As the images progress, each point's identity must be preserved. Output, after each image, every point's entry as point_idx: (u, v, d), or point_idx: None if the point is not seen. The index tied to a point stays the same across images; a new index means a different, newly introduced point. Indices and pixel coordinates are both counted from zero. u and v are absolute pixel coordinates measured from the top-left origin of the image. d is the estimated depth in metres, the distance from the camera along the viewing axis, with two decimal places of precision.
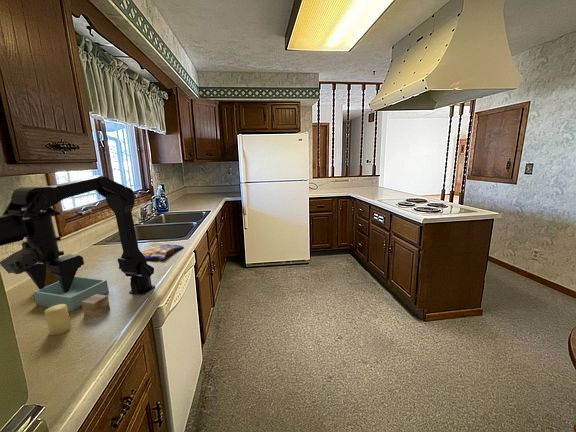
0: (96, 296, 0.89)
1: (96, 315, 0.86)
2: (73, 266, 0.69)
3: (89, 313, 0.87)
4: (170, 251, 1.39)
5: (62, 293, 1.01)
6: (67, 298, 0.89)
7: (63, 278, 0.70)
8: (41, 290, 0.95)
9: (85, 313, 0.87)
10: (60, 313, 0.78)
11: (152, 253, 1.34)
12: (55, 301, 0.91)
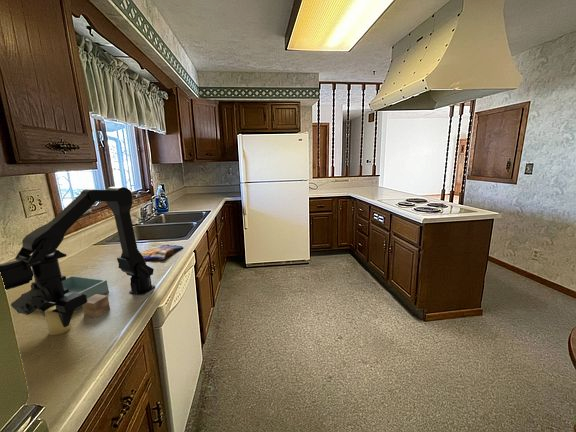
0: (96, 296, 0.89)
1: (96, 315, 0.86)
2: (77, 305, 0.76)
3: (89, 313, 0.87)
4: (170, 251, 1.39)
5: None
6: None
7: (63, 314, 0.77)
8: None
9: (85, 313, 0.87)
10: None
11: (152, 253, 1.34)
12: None
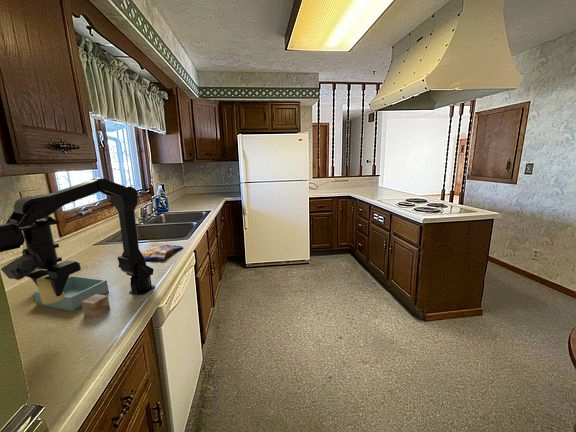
0: (96, 296, 0.89)
1: (96, 315, 0.86)
2: (70, 272, 0.73)
3: (89, 313, 0.87)
4: (170, 251, 1.38)
5: None
6: (67, 298, 0.89)
7: (56, 282, 0.75)
8: None
9: (85, 313, 0.87)
10: None
11: (152, 253, 1.34)
12: None
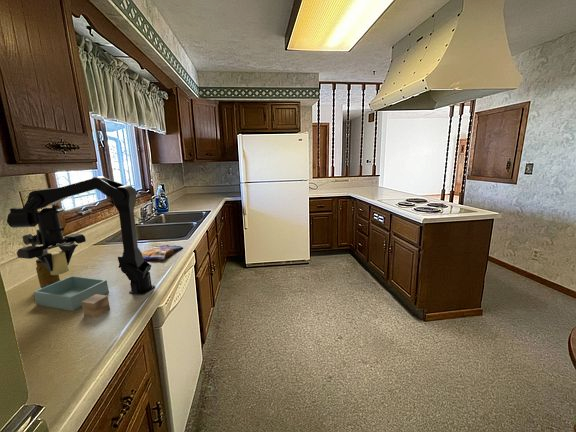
0: (96, 296, 0.89)
1: (96, 315, 0.86)
2: (23, 256, 0.86)
3: (89, 313, 0.87)
4: (170, 252, 1.38)
5: (62, 293, 1.01)
6: (67, 298, 0.89)
7: (41, 260, 0.92)
8: (41, 290, 0.95)
9: (85, 313, 0.87)
10: None
11: (151, 254, 1.33)
12: (55, 301, 0.91)
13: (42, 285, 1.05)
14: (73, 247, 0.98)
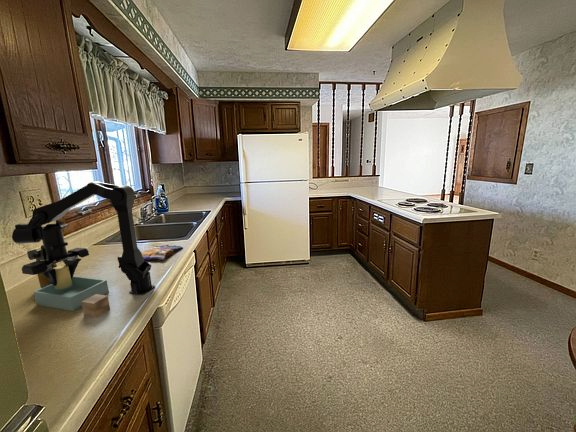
0: (96, 296, 0.89)
1: (96, 315, 0.86)
2: (27, 272, 0.88)
3: (89, 313, 0.87)
4: (169, 252, 1.38)
5: (62, 293, 1.01)
6: (67, 298, 0.89)
7: (45, 275, 0.93)
8: (41, 290, 0.95)
9: (85, 313, 0.87)
10: None
11: (151, 254, 1.33)
12: (55, 301, 0.91)
13: (42, 285, 1.05)
14: (76, 261, 1.00)
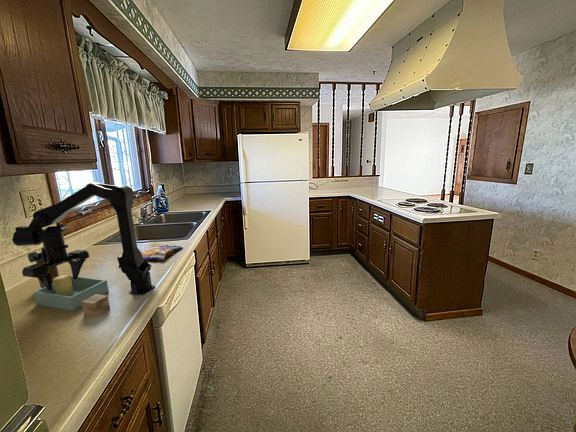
0: (96, 296, 0.89)
1: (96, 315, 0.86)
2: (28, 275, 0.88)
3: (89, 313, 0.87)
4: (169, 252, 1.38)
5: None
6: (67, 298, 0.89)
7: (40, 279, 0.92)
8: (41, 290, 0.95)
9: (85, 313, 0.87)
10: (53, 282, 0.96)
11: (151, 254, 1.33)
12: (55, 301, 0.91)
13: (42, 285, 1.05)
14: (81, 262, 1.02)
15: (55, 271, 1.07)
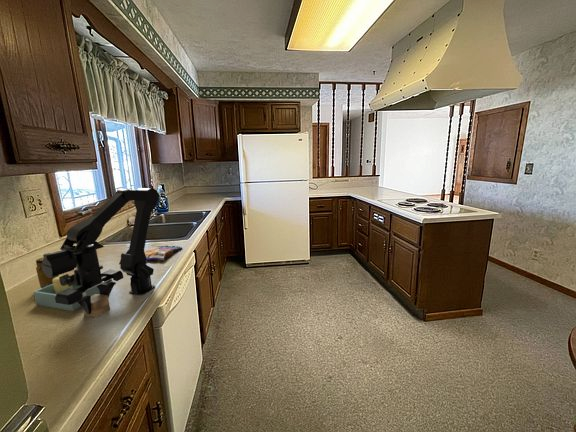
0: (96, 296, 0.89)
1: (96, 314, 0.86)
2: (61, 302, 0.78)
3: None
4: (169, 252, 1.37)
5: None
6: None
7: (79, 302, 0.84)
8: (41, 290, 0.95)
9: (85, 313, 0.87)
10: (53, 282, 0.96)
11: (151, 254, 1.33)
12: (55, 301, 0.91)
13: (42, 285, 1.05)
14: (111, 286, 0.91)
15: None
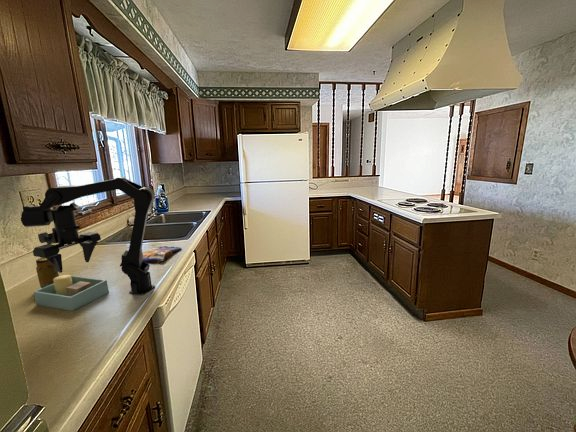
0: (80, 283, 0.98)
1: None
2: (39, 255, 0.84)
3: None
4: (168, 253, 1.36)
5: None
6: (67, 298, 0.89)
7: (50, 261, 0.88)
8: (41, 290, 0.95)
9: None
10: (54, 282, 0.96)
11: (150, 255, 1.31)
12: (55, 301, 0.91)
13: (42, 285, 1.05)
14: (93, 244, 0.98)
15: (55, 271, 1.07)
